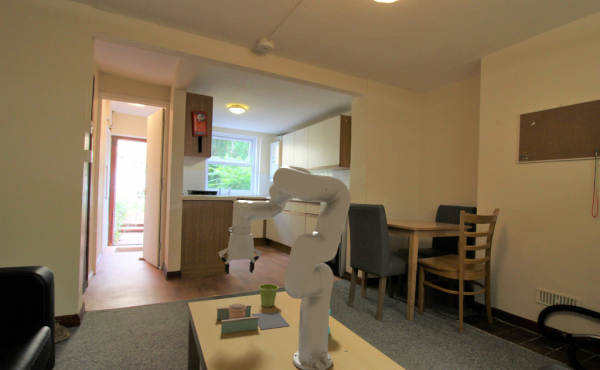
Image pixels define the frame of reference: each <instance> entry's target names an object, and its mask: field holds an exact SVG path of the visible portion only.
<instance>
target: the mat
mask: <svg viewBox="0 0 600 370" xmlns="http://www.w3.org/2000/svg"><path fill="white" fill-rule="evenodd" d="M254 316H258V317H259V319H258V328H259V329H260V330H261V331H262V330H263V331H264V330H271V329H278V328H279V329H280V328H284V327H285V328H286V327H290V324H289V323H288V321H287V320H286V319H285V317H283V316H282V314H281V313H280V312H279V311H278V310H274V311H266V312H258V313H257V312H255V313H251V317H254Z"/></svg>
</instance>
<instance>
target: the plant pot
mask: <svg viewBox="0 0 600 370" xmlns="http://www.w3.org/2000/svg"><path fill="white" fill-rule="evenodd" d="M258 288H259V292H260V303H261V305H260V306H262V307H265V308H270V307H274V306H275V302H276V297H277V293H278V290H279V286H278V285H276V284H273V283H272V284H271V283H263V284H260V285H259V286H258Z"/></svg>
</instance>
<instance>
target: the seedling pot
mask: <svg viewBox="0 0 600 370" xmlns="http://www.w3.org/2000/svg"><path fill="white" fill-rule="evenodd" d="M246 305H247V304H244V303H239V302H238V303H232V304H229V305H228V306H227V307H228V309H229V319H236V318H245V310H246V308H247V306H246Z"/></svg>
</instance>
